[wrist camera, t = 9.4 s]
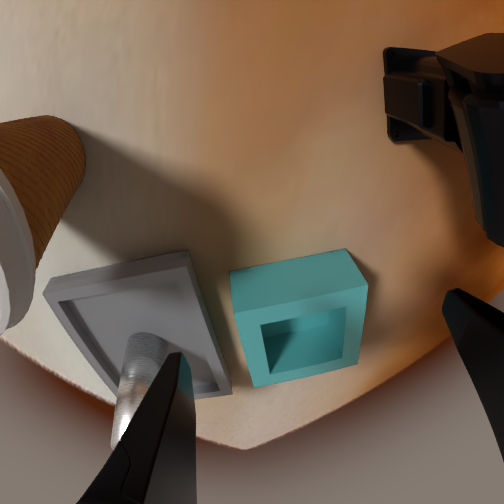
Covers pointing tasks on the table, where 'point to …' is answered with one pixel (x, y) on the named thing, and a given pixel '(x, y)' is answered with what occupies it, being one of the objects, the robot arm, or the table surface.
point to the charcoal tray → (140, 317)
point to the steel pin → (136, 377)
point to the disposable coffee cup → (32, 201)
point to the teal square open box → (299, 316)
